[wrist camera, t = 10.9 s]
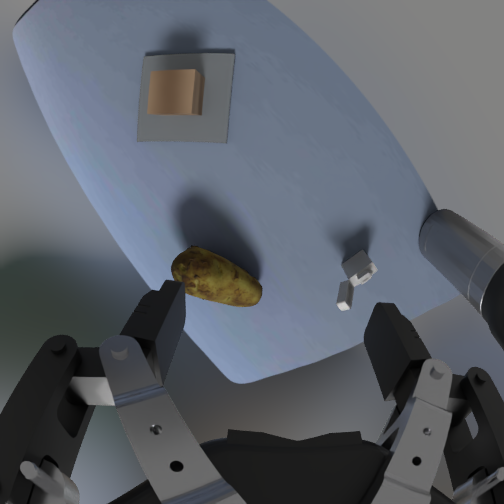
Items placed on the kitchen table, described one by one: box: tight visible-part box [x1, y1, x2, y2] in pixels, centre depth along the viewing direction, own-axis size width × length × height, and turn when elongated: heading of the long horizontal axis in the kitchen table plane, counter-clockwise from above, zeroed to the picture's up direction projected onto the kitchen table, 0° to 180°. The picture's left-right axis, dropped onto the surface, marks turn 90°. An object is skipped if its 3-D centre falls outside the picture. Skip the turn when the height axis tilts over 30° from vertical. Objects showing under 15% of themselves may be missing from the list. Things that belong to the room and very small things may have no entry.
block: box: [147, 69, 205, 115], centre depth 28 cm, size 5×5×6 cm
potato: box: [171, 245, 262, 307], centre depth 38 cm, size 8×13×8 cm, turn 35°
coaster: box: [137, 53, 235, 143], centre depth 31 cm, size 12×12×1 cm
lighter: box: [336, 250, 377, 311], centre depth 38 cm, size 7×2×8 cm, turn 129°
